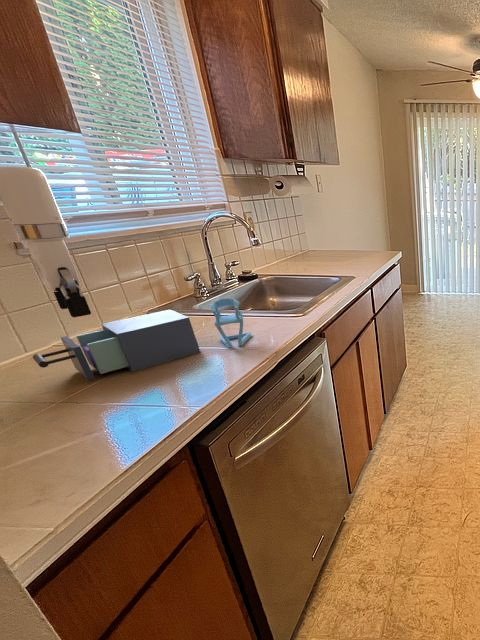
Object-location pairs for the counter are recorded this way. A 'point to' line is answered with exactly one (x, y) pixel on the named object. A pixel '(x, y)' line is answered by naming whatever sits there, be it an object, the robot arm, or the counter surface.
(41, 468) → the counter surface
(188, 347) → the grey drawer box
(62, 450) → the counter surface
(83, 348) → the purple cube
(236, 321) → the chair
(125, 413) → the counter surface
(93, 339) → the teal drawer
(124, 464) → the counter surface
